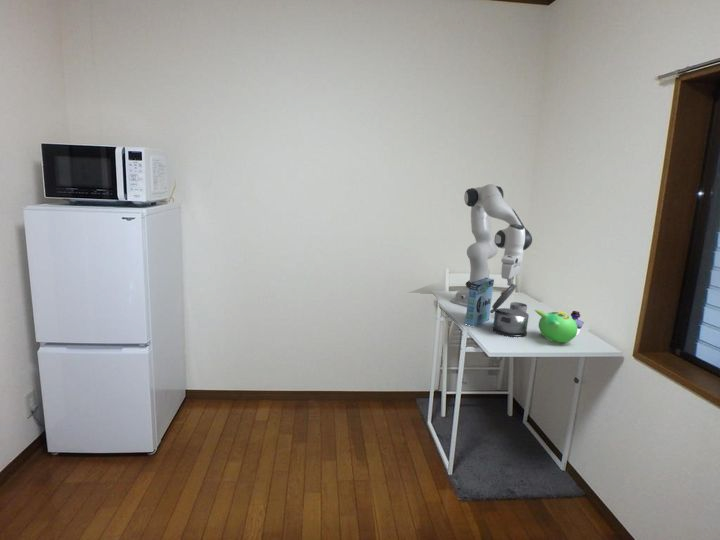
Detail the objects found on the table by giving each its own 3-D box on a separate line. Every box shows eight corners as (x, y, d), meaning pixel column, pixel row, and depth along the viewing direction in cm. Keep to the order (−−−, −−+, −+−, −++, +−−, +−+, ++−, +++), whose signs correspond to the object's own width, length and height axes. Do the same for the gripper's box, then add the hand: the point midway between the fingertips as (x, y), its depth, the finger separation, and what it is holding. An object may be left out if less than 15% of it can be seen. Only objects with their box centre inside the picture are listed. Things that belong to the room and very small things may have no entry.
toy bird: (582, 346, 208) (587, 316, 206) (553, 348, 204) (557, 318, 201) (556, 333, 225) (560, 305, 222) (528, 335, 220) (532, 306, 218)
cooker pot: (486, 333, 220) (488, 313, 218) (499, 323, 237) (501, 305, 235) (520, 341, 210) (523, 321, 208) (531, 330, 228) (534, 312, 226)
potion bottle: (559, 332, 228) (563, 309, 225) (570, 330, 232) (573, 308, 230) (574, 337, 221) (578, 314, 218) (585, 335, 225) (589, 313, 222)
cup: (508, 322, 238) (510, 305, 236) (508, 318, 246) (510, 301, 244) (524, 325, 236) (527, 307, 234) (524, 321, 243) (527, 303, 241)
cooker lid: (488, 315, 220) (482, 310, 222) (498, 309, 233) (493, 304, 235) (511, 289, 212) (504, 283, 214) (520, 283, 225) (514, 279, 227)
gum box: (481, 317, 245) (485, 277, 240) (489, 320, 242) (494, 279, 237) (464, 325, 230) (469, 282, 226) (473, 327, 227) (478, 284, 223)
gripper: (512, 254, 228) (509, 281, 230) (500, 259, 211) (497, 287, 214) (525, 256, 224) (522, 283, 227) (513, 261, 208) (510, 289, 210)
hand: (509, 285), depth 220 cm, fingers closed, pressing on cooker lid
